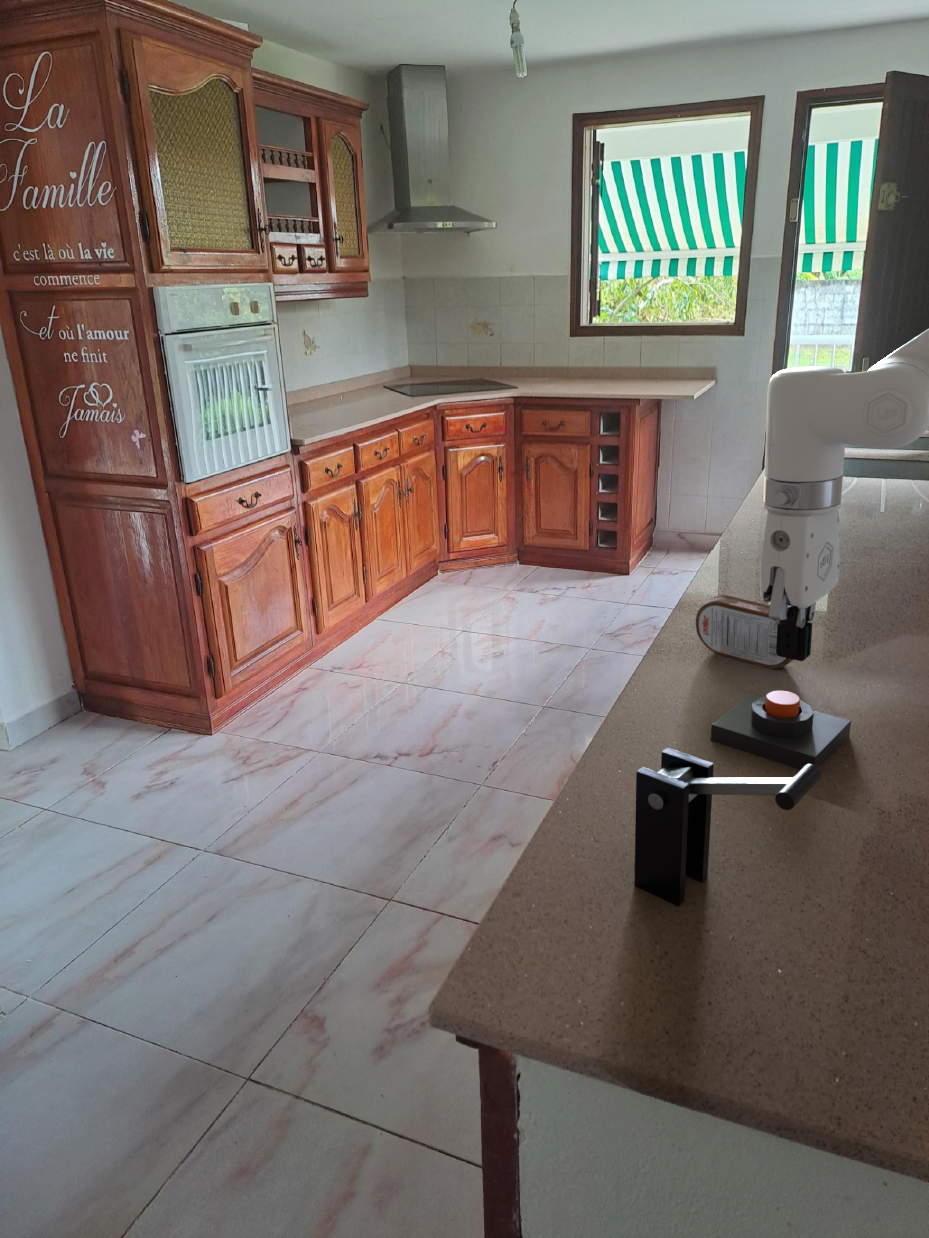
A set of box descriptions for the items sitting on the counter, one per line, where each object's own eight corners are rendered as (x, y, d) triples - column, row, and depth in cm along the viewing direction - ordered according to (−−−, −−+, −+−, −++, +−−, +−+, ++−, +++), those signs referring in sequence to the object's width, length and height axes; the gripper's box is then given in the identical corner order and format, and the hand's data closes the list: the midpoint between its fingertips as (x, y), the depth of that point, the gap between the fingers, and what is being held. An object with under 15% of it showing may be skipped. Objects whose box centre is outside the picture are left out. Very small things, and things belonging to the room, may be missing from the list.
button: (804, 709, 100) (805, 695, 99) (790, 721, 97) (791, 707, 96) (773, 701, 102) (774, 687, 101) (759, 712, 99) (760, 698, 99)
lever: (825, 786, 67) (817, 757, 66) (798, 816, 63) (789, 786, 63) (679, 786, 76) (671, 760, 76) (648, 812, 73) (640, 785, 73)
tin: (803, 669, 117) (808, 611, 114) (792, 678, 115) (797, 618, 112) (702, 642, 127) (705, 588, 124) (691, 650, 125) (693, 594, 122)
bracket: (752, 892, 77) (762, 765, 72) (702, 949, 71) (709, 815, 66) (643, 845, 84) (646, 726, 79) (589, 893, 78) (588, 768, 73)
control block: (849, 737, 100) (852, 706, 99) (813, 775, 94) (816, 742, 92) (750, 708, 108) (752, 679, 107) (710, 741, 101) (712, 710, 100)
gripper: (808, 513, 83) (797, 689, 89) (866, 480, 93) (853, 640, 99) (733, 505, 88) (729, 672, 94) (796, 474, 98) (788, 628, 104)
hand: (793, 655), depth 97 cm, fingers closed
